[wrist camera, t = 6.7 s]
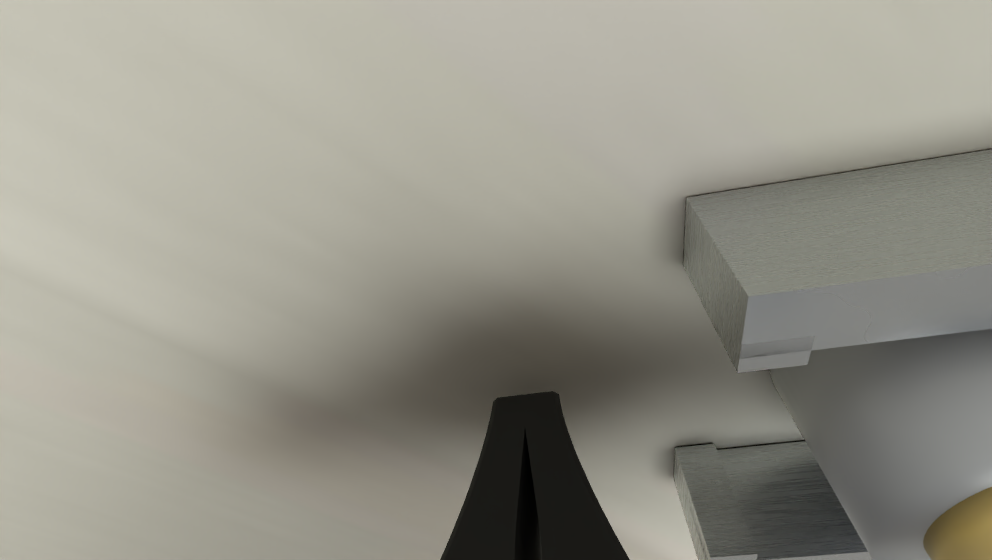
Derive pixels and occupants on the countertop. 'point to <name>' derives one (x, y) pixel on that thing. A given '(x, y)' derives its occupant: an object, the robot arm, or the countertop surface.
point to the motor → (823, 322)
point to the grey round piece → (903, 440)
